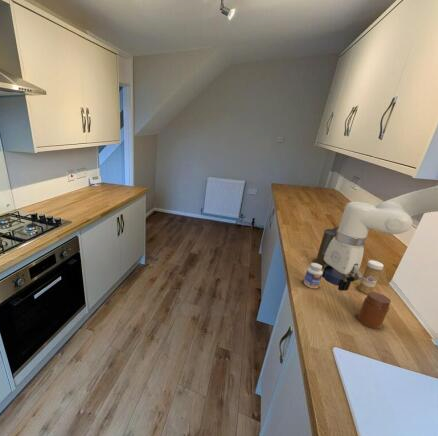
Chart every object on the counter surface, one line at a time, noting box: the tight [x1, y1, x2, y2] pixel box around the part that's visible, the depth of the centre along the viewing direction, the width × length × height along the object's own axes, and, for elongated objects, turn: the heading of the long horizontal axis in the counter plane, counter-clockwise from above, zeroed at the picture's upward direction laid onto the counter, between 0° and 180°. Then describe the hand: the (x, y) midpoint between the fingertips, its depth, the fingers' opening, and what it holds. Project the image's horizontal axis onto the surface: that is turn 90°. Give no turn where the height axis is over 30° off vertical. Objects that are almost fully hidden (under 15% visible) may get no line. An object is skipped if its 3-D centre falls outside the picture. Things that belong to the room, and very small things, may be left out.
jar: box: [357, 291, 392, 330], centre depth 81 cm, size 6×6×10 cm
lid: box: [323, 269, 349, 287], centre depth 85 cm, size 7×7×3 cm
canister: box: [314, 226, 339, 270], centre depth 114 cm, size 11×10×20 cm
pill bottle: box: [303, 262, 323, 289], centre depth 100 cm, size 5×5×10 cm
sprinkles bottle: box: [357, 259, 384, 294], centre depth 96 cm, size 5×5×13 cm
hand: (334, 283), depth 85 cm, fingers closed on lid, 6 cm apart
